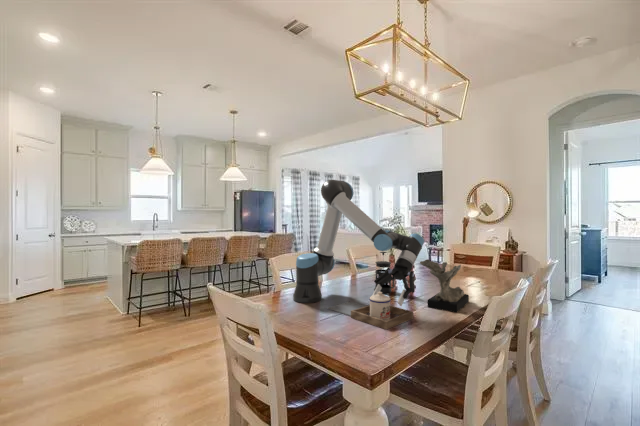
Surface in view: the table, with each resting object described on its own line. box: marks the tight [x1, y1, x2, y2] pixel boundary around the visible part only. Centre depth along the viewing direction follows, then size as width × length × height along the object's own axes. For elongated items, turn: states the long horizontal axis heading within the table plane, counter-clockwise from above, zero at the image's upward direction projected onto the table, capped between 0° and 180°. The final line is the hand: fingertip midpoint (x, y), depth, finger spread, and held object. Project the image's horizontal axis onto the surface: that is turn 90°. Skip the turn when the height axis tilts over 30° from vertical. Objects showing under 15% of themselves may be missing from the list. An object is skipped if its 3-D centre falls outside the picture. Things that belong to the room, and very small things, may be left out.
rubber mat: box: [327, 301, 366, 317], centre depth 153 cm, size 15×15×1 cm
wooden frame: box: [350, 304, 414, 330], centre depth 141 cm, size 19×19×3 cm
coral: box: [419, 259, 470, 313], centre depth 161 cm, size 25×20×22 cm
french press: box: [374, 251, 395, 295], centre depth 185 cm, size 12×9×23 cm
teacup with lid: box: [369, 292, 392, 321], centre depth 141 cm, size 12×9×12 cm
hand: (386, 300), depth 141 cm, fingers open, 13 cm apart
